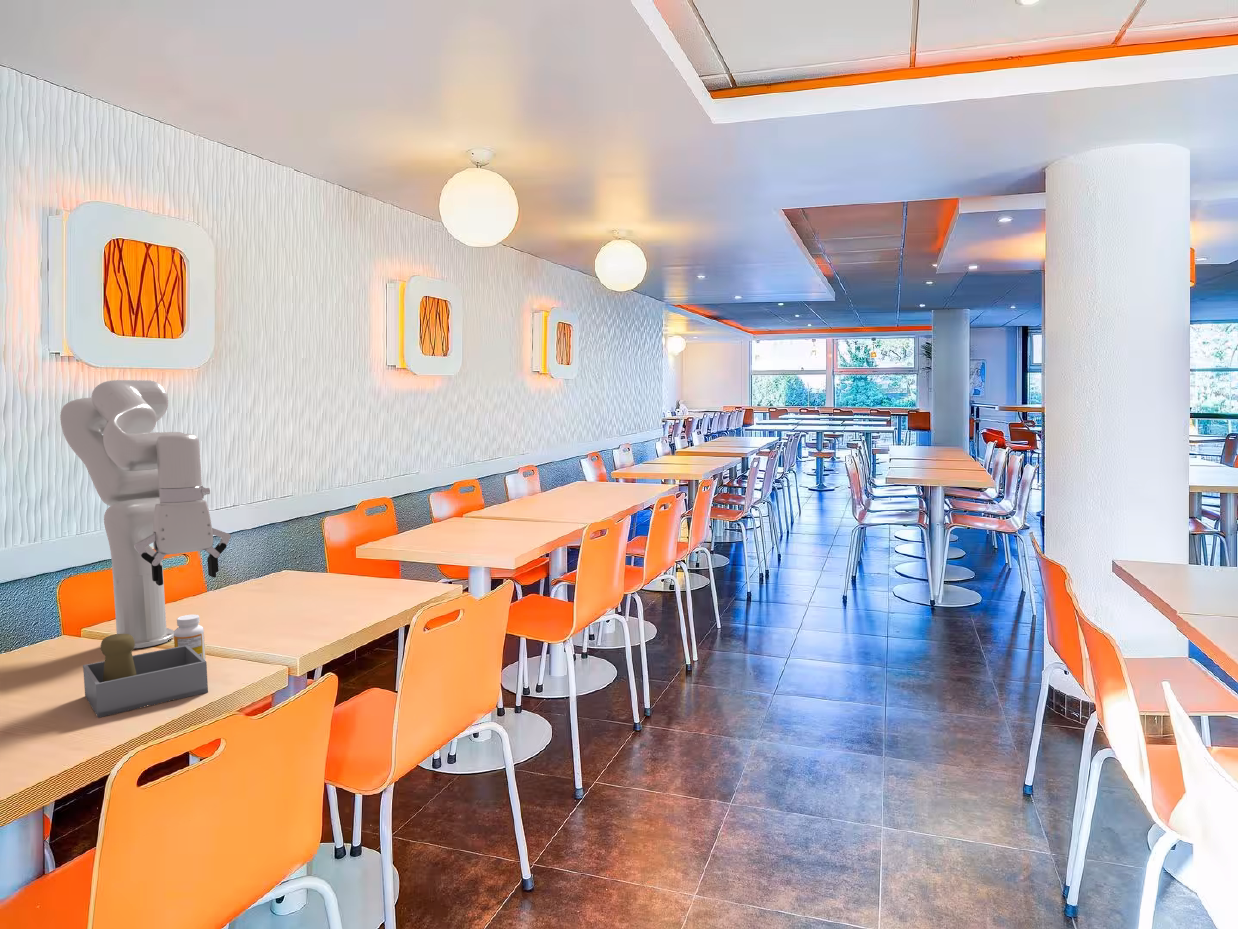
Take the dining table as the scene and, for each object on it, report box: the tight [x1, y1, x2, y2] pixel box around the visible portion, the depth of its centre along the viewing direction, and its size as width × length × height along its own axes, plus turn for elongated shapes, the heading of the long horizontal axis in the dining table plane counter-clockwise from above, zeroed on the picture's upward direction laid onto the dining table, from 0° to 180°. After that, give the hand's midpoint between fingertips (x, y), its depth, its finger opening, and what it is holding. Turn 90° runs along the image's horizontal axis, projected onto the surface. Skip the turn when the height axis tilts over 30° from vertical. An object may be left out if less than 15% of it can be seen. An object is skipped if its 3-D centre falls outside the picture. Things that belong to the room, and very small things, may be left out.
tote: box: [82, 645, 209, 719], centre depth 147 cm, size 13×17×6 cm
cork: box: [100, 633, 137, 682], centre depth 144 cm, size 6×6×11 cm
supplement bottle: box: [173, 614, 206, 661], centre depth 164 cm, size 5×5×10 cm
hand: (186, 580), depth 162 cm, fingers open, 9 cm apart
